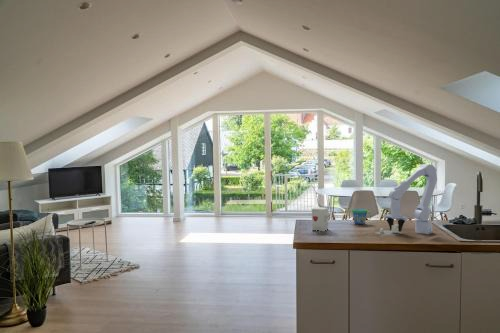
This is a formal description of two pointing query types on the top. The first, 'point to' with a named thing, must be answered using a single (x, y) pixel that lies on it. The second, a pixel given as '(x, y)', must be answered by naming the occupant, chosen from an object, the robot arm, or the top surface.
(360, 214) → the snack cup
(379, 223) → the top surface
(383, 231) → the board
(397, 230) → the cap
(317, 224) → the supplement box
